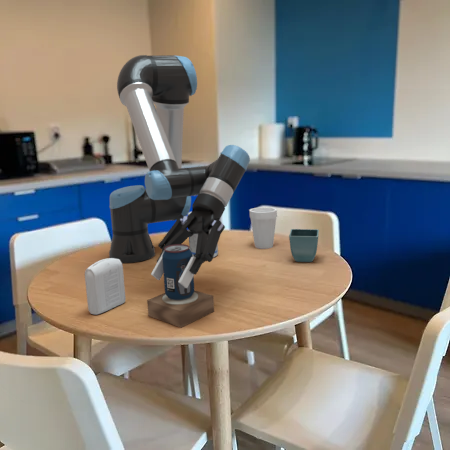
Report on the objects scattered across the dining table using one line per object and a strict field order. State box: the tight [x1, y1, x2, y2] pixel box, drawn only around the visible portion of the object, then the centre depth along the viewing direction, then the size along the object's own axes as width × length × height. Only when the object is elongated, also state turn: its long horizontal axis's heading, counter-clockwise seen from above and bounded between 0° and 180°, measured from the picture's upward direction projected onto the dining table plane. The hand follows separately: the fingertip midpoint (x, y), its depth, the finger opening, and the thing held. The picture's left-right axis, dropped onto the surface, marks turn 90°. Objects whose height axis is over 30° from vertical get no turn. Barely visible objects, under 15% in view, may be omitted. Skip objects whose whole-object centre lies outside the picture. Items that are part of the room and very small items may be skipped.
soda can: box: [162, 243, 195, 301], centre depth 112 cm, size 7×7×12 cm
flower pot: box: [288, 228, 320, 263], centre depth 150 cm, size 9×9×9 cm
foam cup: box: [249, 206, 278, 250], centre depth 167 cm, size 10×9×13 cm
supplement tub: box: [187, 211, 219, 259], centre depth 159 cm, size 10×10×15 cm
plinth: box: [146, 289, 215, 328], centre depth 114 cm, size 11×11×4 cm
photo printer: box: [84, 257, 126, 315], centre depth 119 cm, size 10×4×12 cm, turn 147°
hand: (168, 281), depth 110 cm, fingers open, 8 cm apart
